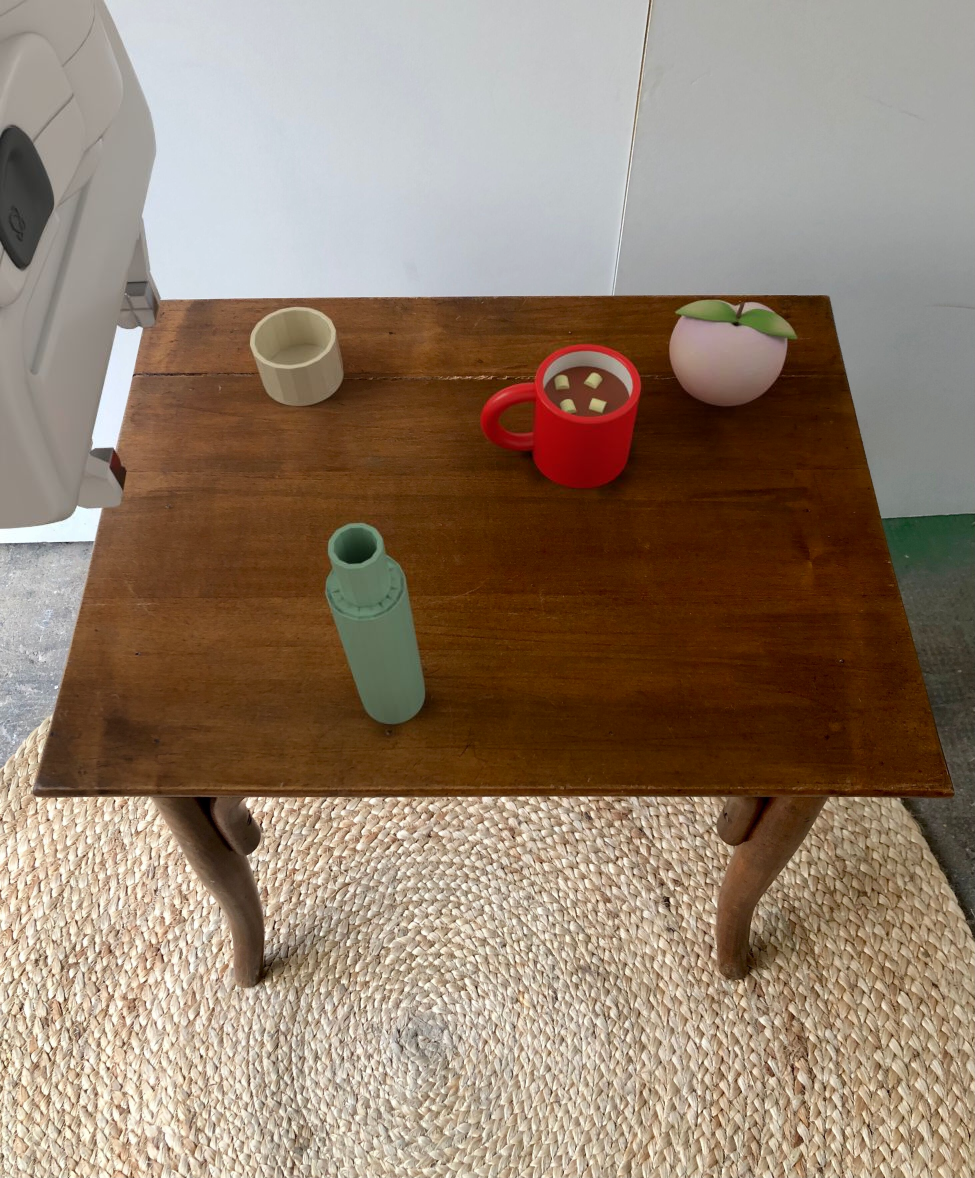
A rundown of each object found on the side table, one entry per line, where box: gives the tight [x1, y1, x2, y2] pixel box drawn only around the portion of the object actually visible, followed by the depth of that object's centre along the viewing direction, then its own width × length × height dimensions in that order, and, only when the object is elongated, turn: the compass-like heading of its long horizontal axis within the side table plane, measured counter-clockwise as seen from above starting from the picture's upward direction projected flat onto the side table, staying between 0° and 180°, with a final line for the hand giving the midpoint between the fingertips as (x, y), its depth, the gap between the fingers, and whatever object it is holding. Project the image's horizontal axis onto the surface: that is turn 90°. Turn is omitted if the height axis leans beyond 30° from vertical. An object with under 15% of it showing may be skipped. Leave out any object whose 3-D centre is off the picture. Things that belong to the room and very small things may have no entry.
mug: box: [479, 343, 642, 489], centre depth 70 cm, size 8×12×8 cm, turn 95°
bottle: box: [324, 522, 426, 725], centre depth 55 cm, size 4×4×19 cm
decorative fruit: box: [668, 299, 798, 407], centre depth 72 cm, size 9×8×10 cm
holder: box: [249, 306, 345, 407], centre depth 76 cm, size 7×7×4 cm
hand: (123, 399), depth 37 cm, fingers open, 8 cm apart
